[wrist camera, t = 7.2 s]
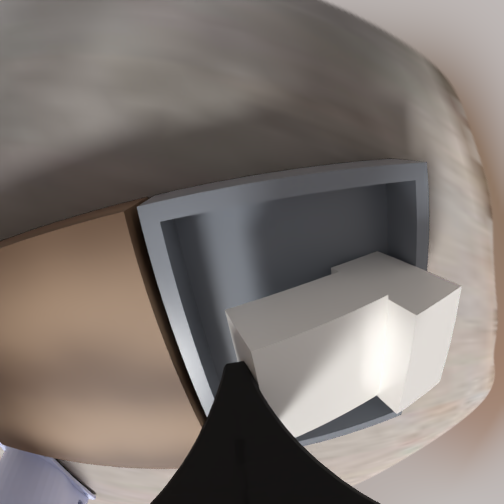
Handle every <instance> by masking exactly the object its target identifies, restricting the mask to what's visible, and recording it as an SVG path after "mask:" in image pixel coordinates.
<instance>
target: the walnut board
mask: <svg viewBox="0 0 504 504" xmlns="http://www.w3.org/2000/svg"><path fill="white" fill-rule="evenodd" d="M147 200H148V197H145V198H141V199H137V200H133V201H129V202H125V203H121V204H118V205H114V206H110V207H106V208H103V209H99V210H95V211H92V212H88V213H85V214H81V215H78V216H75V217H71V218H68V219H65V220H61V221H58V222H55V223H52V224H49V225H46V226H43V227H39V228H36V229H33V230H30V231H28V232H25V233H22V234H19V235H16V236H13V237H10V238H8V239H5V240H2V241H0V442H1V444H2V445H5V446H8V447H12V448H15V449H18V450H22V451H26V452H30V453H34V454H38V455H42V456H46V457H51V458H56V459H61V460H67V461H73V462H79V463H86V464H93V465H102V466H112V467H125V468H146V469H179V467H180V466H181V464H182V463H183V461H184V460H185V458H186V456H187V455H188V453H189V452H190V450H191V448H192V446H193V445H194V443H195V441H196V439H197V437H198V435H199V433H200V431H201V429H202V427H203V425H204V423H205V421H206V419H207V416H206V414H205V411H204V409H203V407H202V405H201V402H200V400H199V397H198V395H197V393H196V390H195V388H194V385H193V383H192V380H191V378H190V375H189V373H188V370H187V368H186V365H185V363H184V360H183V357H182V355H181V352H180V349H179V347H178V344H177V341H176V338H175V335H174V333H173V330H172V327H171V324H170V321H169V318H168V315H167V312H166V309H165V306H164V303H163V300H162V297H161V294H160V290H159V287H158V284H157V281H156V277H155V274H154V271H153V267H152V264H151V260H150V257H149V253H148V249H147V246H146V242H145V238H144V234H143V230H142V226H141V222H140V218H139V214H138V210H137V206H139V205H140V204H142V203H143V202H145V201H147Z"/></svg>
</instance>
